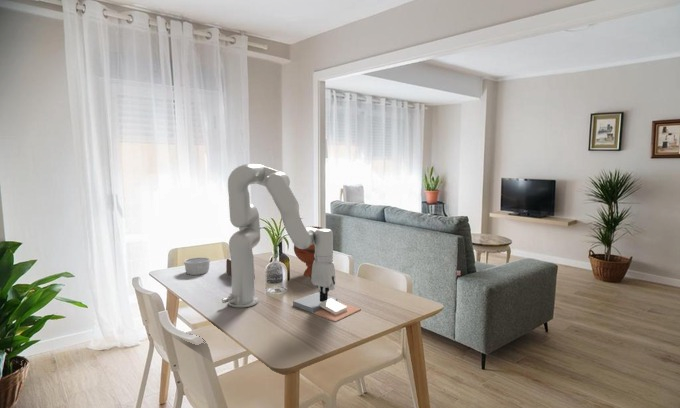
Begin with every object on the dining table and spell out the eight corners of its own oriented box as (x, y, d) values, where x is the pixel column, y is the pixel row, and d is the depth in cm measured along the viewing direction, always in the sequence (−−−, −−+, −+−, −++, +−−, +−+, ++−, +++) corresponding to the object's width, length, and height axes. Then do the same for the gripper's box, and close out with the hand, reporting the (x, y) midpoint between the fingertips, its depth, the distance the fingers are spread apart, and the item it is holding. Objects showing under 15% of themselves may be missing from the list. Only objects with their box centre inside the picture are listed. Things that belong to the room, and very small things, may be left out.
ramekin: (192, 268, 219) (192, 256, 218) (214, 269, 217) (214, 257, 216) (179, 275, 206) (179, 262, 205) (203, 276, 204) (202, 263, 203)
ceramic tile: (335, 315, 154) (336, 311, 153) (319, 306, 159) (320, 302, 159) (346, 310, 159) (347, 306, 159) (330, 301, 165) (331, 298, 164)
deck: (313, 313, 157) (313, 308, 157) (293, 305, 165) (293, 301, 164) (337, 302, 168) (337, 298, 168) (317, 296, 176) (317, 292, 176)
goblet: (292, 279, 201) (292, 231, 198) (295, 268, 220) (295, 225, 217) (329, 279, 201) (329, 232, 198) (329, 268, 220) (329, 225, 217)
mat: (335, 322, 148) (335, 321, 148) (313, 313, 156) (313, 312, 156) (360, 309, 160) (360, 309, 160) (338, 302, 168) (338, 301, 168)
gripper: (304, 257, 163) (304, 299, 165) (331, 263, 153) (331, 308, 155) (317, 253, 168) (317, 294, 171) (343, 259, 159) (343, 302, 161)
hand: (323, 300), depth 163 cm, fingers closed
